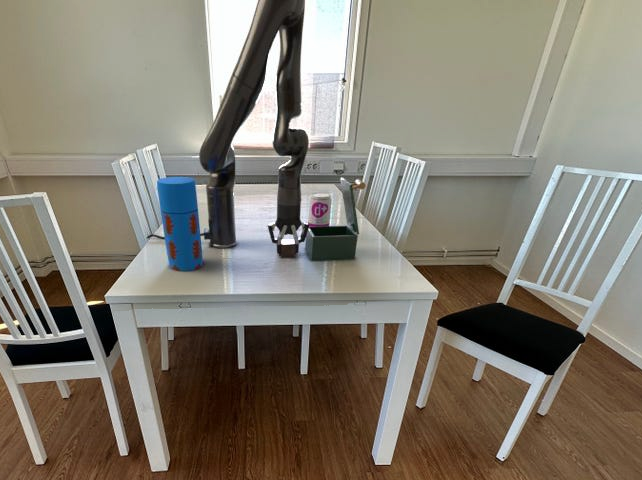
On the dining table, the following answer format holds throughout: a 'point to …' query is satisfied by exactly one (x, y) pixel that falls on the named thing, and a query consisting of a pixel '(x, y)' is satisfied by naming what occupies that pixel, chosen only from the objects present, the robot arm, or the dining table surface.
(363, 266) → the dining table surface
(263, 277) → the dining table surface
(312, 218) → the supplement can
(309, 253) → the tea tin
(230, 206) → the robot arm
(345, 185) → the tin lid
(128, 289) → the dining table surface
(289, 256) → the walnut block
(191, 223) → the thermos
